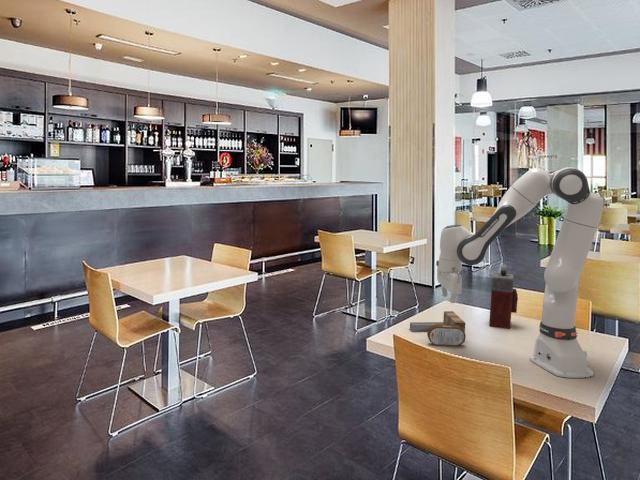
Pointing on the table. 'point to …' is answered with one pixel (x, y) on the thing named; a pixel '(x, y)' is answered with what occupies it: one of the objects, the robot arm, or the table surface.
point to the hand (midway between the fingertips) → (448, 299)
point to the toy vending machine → (502, 299)
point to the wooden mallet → (449, 319)
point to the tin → (446, 335)
